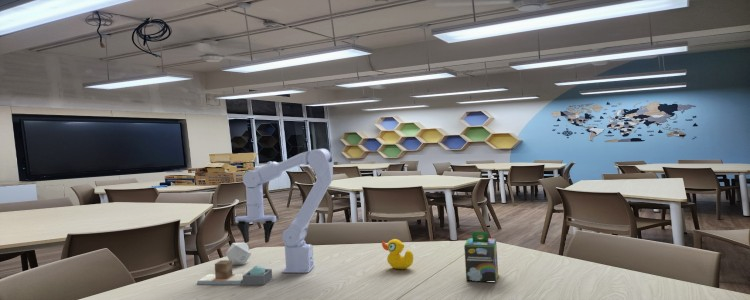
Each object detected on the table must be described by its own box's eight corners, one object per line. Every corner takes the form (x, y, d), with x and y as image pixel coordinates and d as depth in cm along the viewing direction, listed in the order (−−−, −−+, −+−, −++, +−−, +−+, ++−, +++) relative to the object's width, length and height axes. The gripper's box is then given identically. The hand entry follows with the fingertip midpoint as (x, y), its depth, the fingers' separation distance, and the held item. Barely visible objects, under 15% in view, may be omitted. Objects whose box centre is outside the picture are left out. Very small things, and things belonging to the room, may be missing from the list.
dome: (267, 276, 145) (267, 263, 145) (262, 281, 140) (261, 268, 140) (253, 276, 145) (253, 263, 145) (247, 281, 141) (247, 268, 140)
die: (237, 269, 159) (252, 246, 162) (218, 258, 160) (233, 235, 163) (244, 271, 167) (258, 249, 170) (225, 260, 168) (239, 238, 171)
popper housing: (272, 277, 146) (271, 268, 146) (264, 284, 139) (263, 275, 139) (252, 277, 147) (251, 269, 146) (243, 284, 140) (242, 275, 140)
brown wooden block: (232, 275, 147) (231, 260, 147) (227, 278, 143) (226, 263, 143) (221, 275, 147) (220, 260, 147) (215, 278, 143) (214, 263, 143)
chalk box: (498, 274, 139) (496, 227, 139) (496, 283, 130) (494, 234, 130) (468, 272, 142) (467, 227, 142) (465, 281, 134) (463, 233, 133)
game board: (250, 277, 147) (249, 273, 147) (240, 284, 140) (240, 280, 140) (208, 277, 149) (208, 274, 149) (197, 284, 142) (197, 280, 142)
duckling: (379, 269, 150) (378, 240, 150) (386, 264, 155) (385, 236, 155) (410, 272, 145) (408, 242, 145) (416, 267, 150) (415, 238, 149)
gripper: (230, 206, 152) (232, 245, 152) (270, 205, 150) (272, 244, 150) (239, 203, 159) (241, 240, 159) (277, 202, 157) (279, 239, 157)
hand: (256, 242), depth 155 cm, fingers open, 7 cm apart
